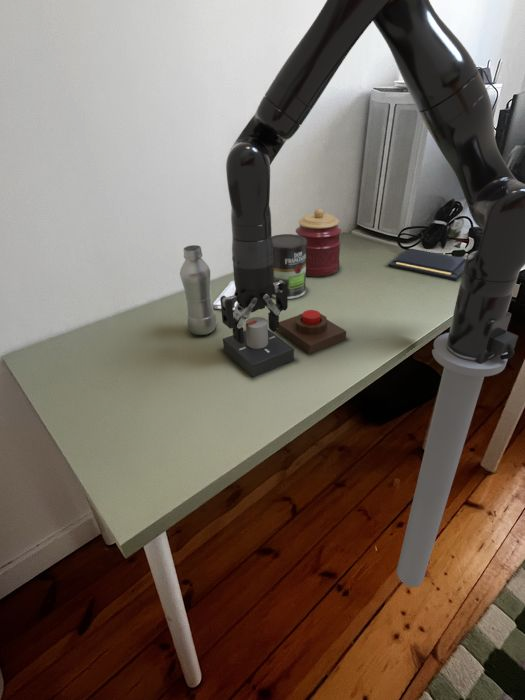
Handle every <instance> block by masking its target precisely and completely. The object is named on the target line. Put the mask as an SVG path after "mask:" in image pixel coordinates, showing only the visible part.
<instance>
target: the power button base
mask: <svg viewBox="0 0 525 700" xmlns="http://www.w3.org/2000/svg"><path fill="white" fill-rule="evenodd" d="M320 314H321V318H320V323H318V324H316V325H308V324H304V323H303V322H302V313H299V314H298V315H295V316H293V317H292V316H291V317H289V318H286V319H284V320H281V321H279V327H278V328H277V332H278V333H279V334H281V335H283V336H284V337H285V338H287V339H288V340H289V341H291V342H292V343H294V344H295V345H296V346H298V347H299V348H300V349H302V351H304V352H306V353H307V354H309V355H311V354H313V353H316V352H318V351H321V350H323V349H326V348H328V347H331V346H333V345H336V344H338V343H340V342H343V341H345V340H346V339H347V330H345V329H344V328H342V327H341V326H339V325H337V324H335V323H334V322H332V321H330V320H329V319H328V318H327V316H326V315H324V314H322V313H320Z"/></svg>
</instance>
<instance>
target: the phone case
mask: <svg viewBox="0 0 525 700" xmlns="http://www.w3.org/2000/svg"><path fill="white" fill-rule="evenodd" d="M235 291H236V287H235V283H234V280H231V281H230V282H229V283H228V284H227V285H226V287H225V288H224V289H223V290H222V292H221V293H220V294H219V295H218V296H217V298H216V299H215V300H214V302H212V306H213V310H214V309H215V310H221V300H220V298H221V297H222V296H226V297H229V296H233V295H234V293H235ZM237 303H238V302H237V301H236V302H235V304H234V306H235V307H234V308H233V312H235V311H234V310H235V308H236V306H237Z"/></svg>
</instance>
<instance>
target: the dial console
mask: <svg viewBox="0 0 525 700" xmlns="http://www.w3.org/2000/svg"><path fill="white" fill-rule="evenodd" d="M243 333H244V343H242V344H240V343H239V342H237V341H236V340H235V339H234V338H233V334H232V335H229V336H226V337H224V338H222V346H223V351H224V352H225V353H226V355H228V356H229V357H230V358H231V359H232V360H233V361H234V362H236V363H237V364H238V365H239V366H240V367H241V368H242V369H243V370H244V371H245V372H247V374H249V376H250V377H252V378H255V377H258V376H260V375H262V374H264V373H267V372H270V371H272V370H274V369H275V370H276V369H277V368H279V367H282V366H284V365H287V364H290V363H292V362H294V361H295V348H294V347H293V346H291V345H290V344H289V343H287V342H286V341H285V340H283V339H282V338H281V337H279V336H278V335H276V334H275V332H273V331H271V330H270V329H268V345H267V346H266V347H264V348H260V349H253V348H250V347H249V346H248V345H247V338H246V330H243Z"/></svg>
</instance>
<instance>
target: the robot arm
mask: <svg viewBox="0 0 525 700" xmlns="http://www.w3.org/2000/svg"><path fill="white" fill-rule="evenodd" d="M325 1H326V2H325V3H324V5H323V6H322V8H321V9H320V11H319V12H318V14H317V16H316V17H315V19H314V20H313V22H312V23H311V25H310V27H309V28H308V29H307V31H306V32H305V34H304V35H303V36H302V38H301V39H300V40H299V42H298V44H296V46H295V48H294V49H293V51H292V52H291V54H289V56H288V57H287V59H286V60H285V61H284V63H283V65H282V66H281V68H280V70H279V71H278V72H277V74H276V75H275V77H274V79H273V80H272V82H271V84H270V85H269V87H268V89H267V90H266V92H265V93H264V95H263V97H262V99H261V100H260V102H259V104H258V106H257V108H256V111H255V112H254V114H253V116H252V117H251V118H250V119H249V121H248V122H247V124H246V125H245V126H244V128H243V129H242V131H241V132H240V134H239V135H238V136H237V138H236V140H235V141H234V142H233V144H232V146H231V147H230V149H229V151H228V154H227V158H226V161H225V172H226V182H227V191H228V197H229V203H230V223H231V224H230V225H231V235H232V237H231V238H232V239H231V240H232V241H231V260H232V268H233V281H234V283H235V287H236V291H235V293H234V295H233V296H229V297H226V296H222V297H221V298H220V300H221V309H220V310H221V319H222V324H223V325H224V326H226V327H227V328H229V329H232V335H233V338H234V339H235V340H236V341H237V342H239V343H240V344H242V343H244V333H243V331H244V327H243V326H244V323H246V321H247V320H248V319H249V318H250V315H251V314H252V313H254V312H256V311H258V310H264V309H267V310H268V312H267V317H268V319H267V321H268V330H270V331H271V332H273V333H276V332H278V329H277V328H278V327H279V322H280V314H281V312H282V311H287V309H288V307H289V306H288V305H289V304H288V303H289V302H288V299H287V284H286V283H285V282H283V281H282V280H280V279H278V280H276V283H273V282H274V259H273V242H272V236H273V235H272V234H273V233H272V232H273V231H272V212H271V206H270V198H271V197H270V196H271V165H272V163H273V162H274V160H275V158H276V157H277V155H278V154H279V153H280V151H281V150H282V148H283V146H284V145H285V143H286V142H287V141H289V140H290V139H292V137H294V135H295V134H296V133H297V132H298V130H299V129H300V128H301V126H302V125H303V123H304V122H305V120H306V119H307V117H308V116H309V114H310V113H311V112H312V110H313V108H314V107H315V106H316V104H317V102H318V100H319V99H320V98H321V96H322V94H323V93H324V91H325V90H326V88H327V87H328V85H329V84H330V83H331V81H332V79H333V77H334V76H335V74H336V73H337V71H338V69H339V68H340V67H341V65H342V64H343V62H344V60H345V59H346V57H347V56H348V54H349V53H350V52H351V50H352V49H353V47H354V46H355V45H356V43H357V42H358V41H359V39H360V38H361V37H362V36H363V34H364V33H365V31H366V30H367V29H368V28H369V27H370V25H371V24H372V23H373V24H374V26H375V27H376V28H377V30H378V32H379V33H380V35H381V36H382V38H383V39H384V41H385V43H386V44H387V47H388V49H389V50H390V52H391V55H392V57H393V59H394V62H395V64H396V66H397V69H398V71H399V73H400V76H401V78H402V80H403V82H404V84H405V86H406V89H407V91H408V93H409V95H410V97H411V99H412V101H413V103H414V105H415V107H416V109H417V111H418V113H419V115H420V117H421V120H422V121H423V124H424V125H425V127H426V129H427V131H428V132H429V134H430V135H431V137H432V139H433V140H434V142H435V143H436V146H437V147H438V149H439V150H440V152H441V154H442V156H443V157H444V159H445V160H446V161H447V164H449V166H450V167H451V169H452V171H453V172H454V174H455V177H456V179H457V180H458V183H459V185H460V188H461V191H462V193H463V196H464V199H465V202H466V205H467V207H468V210H469V213H470V215H471V218H472V220H473V222H474V223H475V224H476V225H477V226H478V228H480V229H481V230H482V233H481V237H480V240H479V244H478V247H477V250H475V251H472V252H470V253H469V254H467V256H466V258H465V259H466V262H465V266H464V270H463V274H462V275H461V279H460V284H459V288H458V293H457V297H456V302H455V305H454V309H453V315H452V318H451V323H450V327H449V332H448V333H449V335H448V340H447V342H446V348H447V350H448V351H449V352H450V353H451V354H452V355H454V356H456V357H458V358H460V359H463V360H467V361H474V362H477V363H479V364H482V363H484V362H486V361H488V360H490V359H492V358H493V357H495V356H497V355H501V356H500V358H501V359H502V360H503V359H508V360H509V359H511V358H512V357H514V355H515V347H516V344H517V341H518V338H519V335H517V334H515V333H513V332H511V331H508V328H509V324H510V321H511V317H512V313H511V312H508V311H509V308H510V304H511V302H512V298H513V295H514V291H515V288H516V285H517V282H518V278H519V275H520V272H521V270H522V269H523V267H524V266H525V183H524V182H521V181H519V180H518V179H517V178H516V177H515V176H514V174H513V173H512V172H511V170H510V169H509V167H508V165H507V163H506V161H505V160H504V158H503V156H502V155H501V152H500V150H499V148H498V145H497V141H496V133H495V121H494V113H493V104H492V101H491V97H490V95H489V92H488V90H487V87H486V84H485V82H484V80H483V78H482V76H481V74H480V73H481V72H480V71H479V69H478V67H477V64H476V63H475V61H474V59H473V58H472V56H471V54H470V52H469V51H468V50H467V48H466V47H465V46H464V44H463V43H462V41H460V39H459V38H458V37H457V36H456V35H455V34H454V32H453V31H452V30H451V28H449V27H448V25H447V24H446V23H445V22H444V21H443V20H442V19H441V18H440V16H439V15H438V14H437V12H436V11H435V9H434V7H433V5H432V3H431V2H430V0H325ZM274 291H275V292H276V298H275V302H274V301H273V300H272V297H273V296H272V295H273V293H274ZM236 301H237V302H238V303H237V306H236V308H235V310H234V311H233V308H234V307H235V306H234V304H235V302H236ZM506 352H507V353H508V354H505V355H502V354H504V353H506Z"/></svg>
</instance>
